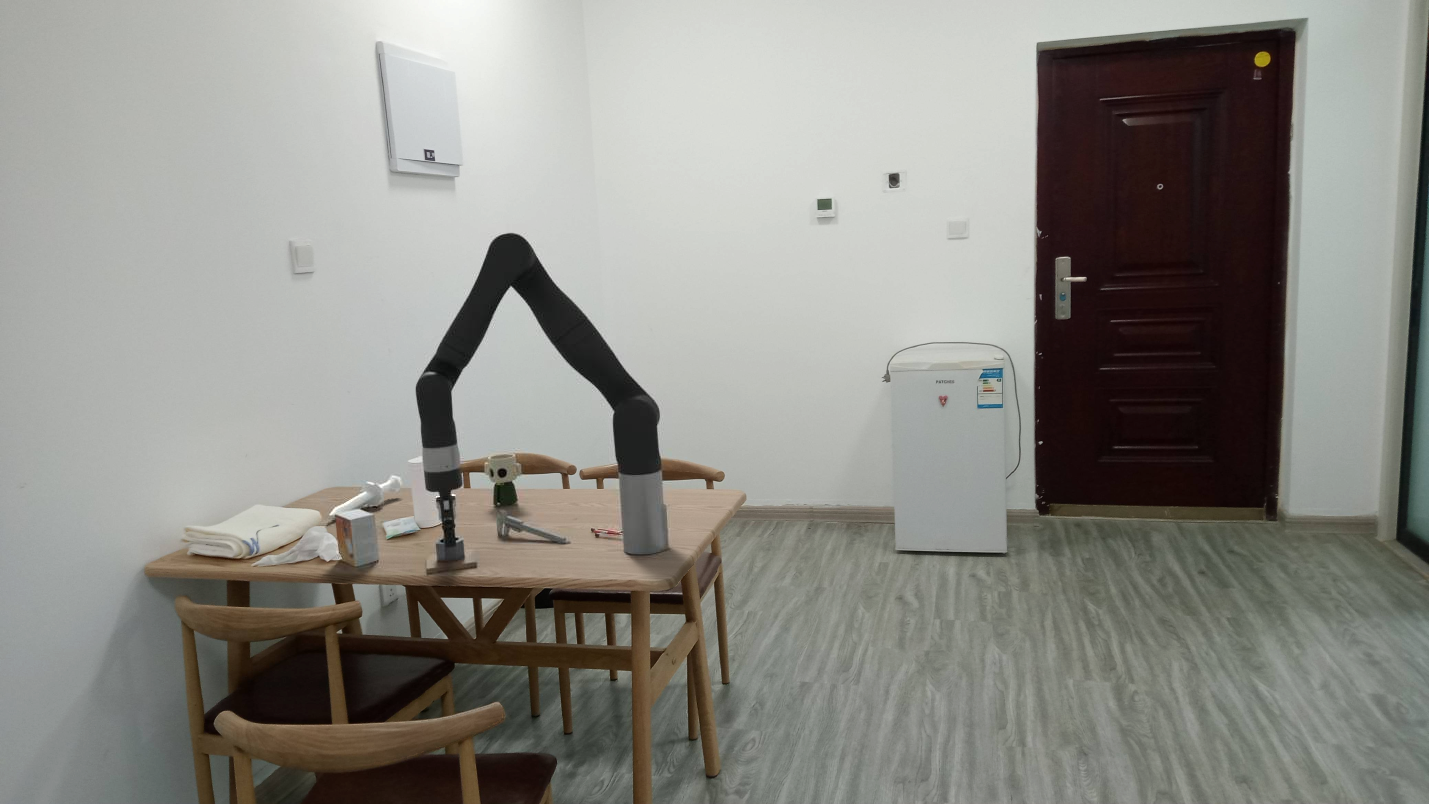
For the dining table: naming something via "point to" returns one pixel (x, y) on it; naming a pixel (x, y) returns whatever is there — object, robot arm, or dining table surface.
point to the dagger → (369, 495)
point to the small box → (357, 537)
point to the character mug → (503, 477)
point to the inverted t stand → (440, 566)
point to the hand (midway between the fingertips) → (450, 541)
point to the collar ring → (450, 551)
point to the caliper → (524, 528)
